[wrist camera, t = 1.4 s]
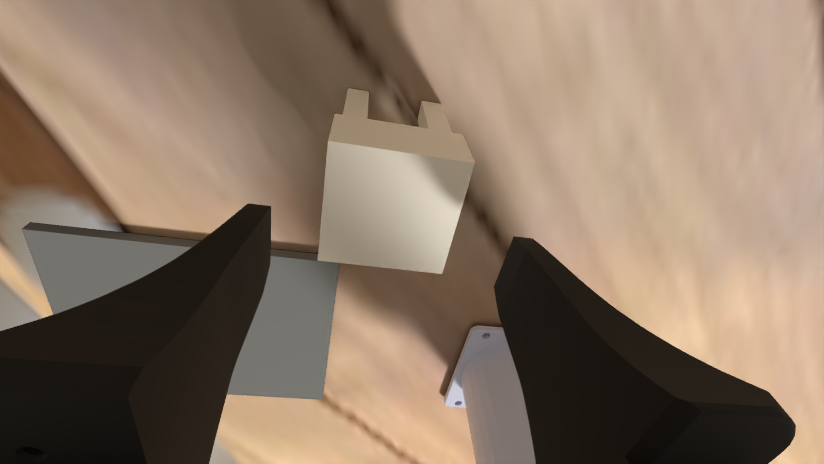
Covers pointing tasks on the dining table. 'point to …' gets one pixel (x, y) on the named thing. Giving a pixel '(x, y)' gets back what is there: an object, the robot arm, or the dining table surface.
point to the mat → (272, 324)
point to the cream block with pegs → (392, 189)
